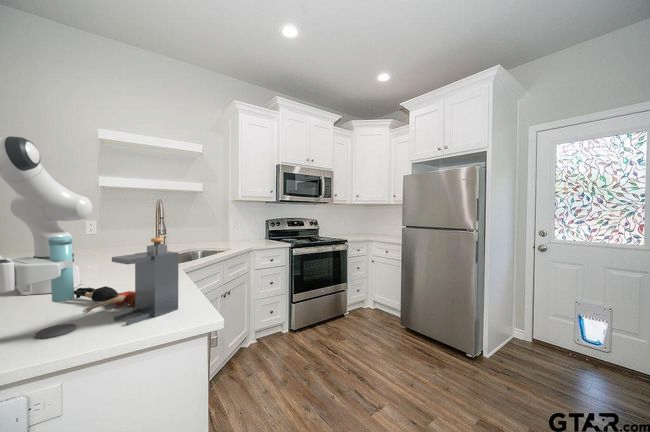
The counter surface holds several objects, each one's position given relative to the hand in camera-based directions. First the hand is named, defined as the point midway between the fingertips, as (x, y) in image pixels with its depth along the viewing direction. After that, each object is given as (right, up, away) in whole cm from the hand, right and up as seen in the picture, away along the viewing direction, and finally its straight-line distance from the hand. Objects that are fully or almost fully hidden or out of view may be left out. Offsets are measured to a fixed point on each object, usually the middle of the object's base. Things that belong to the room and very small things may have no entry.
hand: (65, 262), depth 74 cm
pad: (-2, -19, 0) cm, 19 cm away
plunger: (+16, +1, +15) cm, 22 cm away
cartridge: (0, -10, 0) cm, 10 cm away
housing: (+14, -19, +12) cm, 26 cm away
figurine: (-7, -19, +22) cm, 30 cm away
